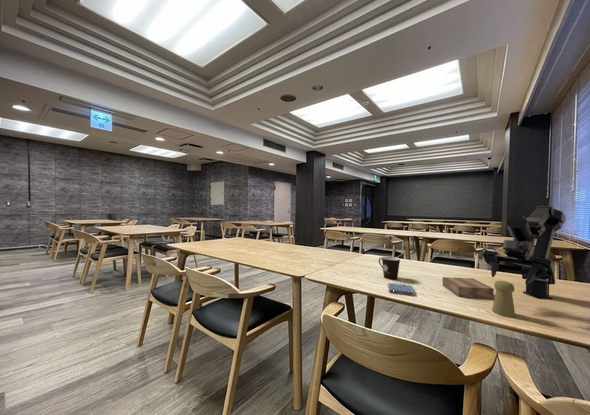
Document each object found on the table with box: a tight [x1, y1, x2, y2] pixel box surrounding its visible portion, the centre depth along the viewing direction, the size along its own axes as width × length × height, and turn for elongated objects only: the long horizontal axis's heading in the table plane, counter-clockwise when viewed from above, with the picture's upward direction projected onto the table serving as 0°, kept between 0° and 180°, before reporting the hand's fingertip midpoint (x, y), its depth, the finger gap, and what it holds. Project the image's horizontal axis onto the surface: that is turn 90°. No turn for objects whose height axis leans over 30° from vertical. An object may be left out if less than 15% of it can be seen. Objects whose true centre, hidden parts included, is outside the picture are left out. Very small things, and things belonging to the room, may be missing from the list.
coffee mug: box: [378, 255, 401, 281], centre depth 120 cm, size 12×9×10 cm
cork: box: [491, 280, 516, 318], centre depth 81 cm, size 6×6×11 cm
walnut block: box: [442, 276, 495, 300], centre depth 101 cm, size 13×13×4 cm
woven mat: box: [387, 282, 416, 297], centre depth 101 cm, size 10×11×2 cm
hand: (508, 280), depth 82 cm, fingers open, 9 cm apart
